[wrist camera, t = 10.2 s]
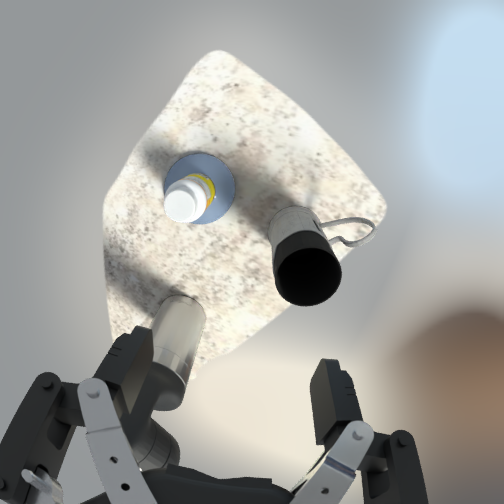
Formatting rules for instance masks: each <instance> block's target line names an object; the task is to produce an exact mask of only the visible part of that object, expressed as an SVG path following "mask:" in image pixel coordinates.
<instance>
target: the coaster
mask: <svg viewBox="0 0 504 504" xmlns="http://www.w3.org/2000/svg"><path fill="white" fill-rule="evenodd" d="M193 173H202V174H205V175H207V176H208V177H210V178H211V180H212V181H213V182H214V185H215V189H216V193H215V197H214V200H213V201H212V203H211V204H210V205H209V206H208V208H207V209H206V210H205V212H204V213H203V214H202V215H201V216H200V217H199V218H198V219H197V220H195V221H193V222H189V223H193V224H207V223H211V222H213V221H216V220H217V219H219V218H221V217H222V216H223V215H224V214H225V213H226V212H227V210H228V209H229V207H230V206H231V204H232V201H233V199H234V195H235V183H234V179H233V176H232V173H231V171H230V170H229V168H228V167H227V166H226V165H225V164H224V163H223V162H222V161H221V160H219V159H218V158H216V157H214V156H211V155H208V154H193V155H189V156H186V157H184V158H182V159H180V160H179V161H177V162H176V163H175V164H174V165H173V166H172V168H171V169H170V171H169V172H168V175H167V177H166V180H165V193H166V191H167V189H168V188H169V186H170V185H172V184H173V183H174V182H176V181H178V180H180V179H182V178H184V177H186V176H188V175H190V174H193Z"/></svg>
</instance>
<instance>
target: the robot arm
mask: <svg viewBox="0 0 504 504" xmlns="http://www.w3.org/2000/svg"><path fill="white" fill-rule="evenodd" d="M205 322H206V314H205V312H204V310H203V308H202V307H201V305H200V304H199V303H198V302H196V301H195V300H193V299H191V298H189V297H186V296H181V295H174V296H171V297H168V298H167V299H165V300H164V301H163V303H162V305H161V307H160V308H159V310H158V312H157V314H156V315H155V317H154V319H153V321H152V322H151V324H150V326H149V328H145V327H141V326H138V325H137V326H135V328H134V329H133V331H132V333H131V334H127V333H124V334H122V335H121V336H119V337H118V338H117V339H116V340H115V342H114V343H113V345H112V348H110V350H109V352H108V354H107V355H106V356H105V358H104V360H103V361H102V363H101V364H100V366H99V368H98V369H97V371H96V373H95V374H94V376H93V377H92V378H89V379H86V380H84V381H82V382H81V383H80V384H75V383H66V382H61V380H60V378H59V377H58V376H57V375H55V374H54V373H51V372H45V373H42V374H40V375H39V376H38V377H37V378H36V379H35V381H34V382H33V384H32V386H31V387H30V389H29V391H28V392H27V394H26V396H25V398H24V399H23V401H22V403H21V405H20V406H19V408H18V410H17V412H16V414H15V415H14V417H13V419H12V421H11V423H10V425H9V427H8V429H7V431H6V433H5V435H4V437H3V439H2V441H1V444H0V499H1V500H3V501H5V502H7V503H8V504H63V490H62V487H61V485H60V484H59V483H58V481H57V480H56V479H57V477H58V474H59V471H60V468H61V465H62V463H63V460H64V457H65V454H66V452H67V449H68V446H69V444H70V441H71V439H72V436H73V434H74V432H75V429H76V427H77V426H83V427H86V430H87V433H86V438H87V442H88V445H89V448H90V452H91V454H92V457H93V460H94V463H95V466H96V469H97V471H98V474H99V476H100V479H101V481H102V484H103V486H104V489H105V491H106V492H104V493H102V494H100V495H98V496H96V497H94V498H91V499H89V500H87V501H85V502H83V503H80V504H338V503H339V502H340V501H341V499H342V498H343V496H344V495H345V493H346V492H347V490H348V489H349V487H350V486H351V484H352V482H353V481H354V479H355V477H356V474H355V471H356V470H360V471H361V476H362V486H363V497H364V504H428V499H427V493H426V488H425V483H424V478H423V473H422V469H421V465H420V460H419V456H418V453H417V448H416V445H415V441H414V438H413V436H412V435H411V434H410V433H409V432H407V431H405V430H397V431H395V432H393V433H392V434H391V435H387V434H382V433H377V432H374V431H373V429H372V428H371V426H370V425H368V424H367V423H365V422H364V421H363V418H362V414H361V410H360V407H359V403H358V399H357V396H356V392H355V389H354V384H353V381H352V378H351V377H350V376H349V374H348V373H347V371H343V370H341V369H340V365H339V362H338V360H334V359H321V361H320V363H319V365H318V367H317V369H316V371H315V373H314V375H313V377H312V379H311V383H310V395H311V403H312V410H313V419H314V428H315V437H316V445H324V447H325V450H324V451H323V453H322V454H321V455H320V457H319V458H318V459H317V461H316V462H315V463H314V464H313V466H312V467H311V468H310V469H309V471H308V472H307V473H306V474H305V476H304V477H303V478H302V479H301V480H300V481H299V482H298V483H297V484H296V485H295V486H294V487H293V488H292V489H291V490H290V491H288V490H286V489H284V488H282V487H280V486H277V485H275V484H272V479H269V478H254V477H242V478H231V479H217V478H214V477H211V476H209V475H206V474H204V473H201V472H199V471H197V470H194V469H191V468H186V467H182V466H178V465H179V460H180V449H179V445H178V443H177V441H176V440H175V439H174V437H173V436H172V435H171V434H169V433H168V432H167V431H166V430H165V429H164V428H162V427H161V426H160V425H159V424H158V423H157V422H155V421H154V420H153V419H152V418H151V414H152V411H153V410H157V411H170V410H174V409H176V408H178V407H179V406H180V405H181V403H182V400H183V398H184V394H185V390H186V387H187V383H188V380H189V376H190V373H191V369H192V366H193V362H194V359H195V355H196V352H197V349H198V345H199V342H200V339H201V336H202V332H203V329H204V326H205Z"/></svg>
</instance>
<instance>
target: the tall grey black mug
mask: <svg viewBox="0 0 504 504" xmlns="http://www.w3.org/2000/svg"><path fill="white" fill-rule="evenodd" d="M352 222H358V223H364V224H367V225H369V226H371V227H372V228H373V230H372V231H371V233H370V234H368V235H367V236H366V237H364V238H363V239H360V240H358V241H346V240H345V239H344V238H343V237H342V236H337V237H334V238H332V239H330V240H329V241H328V239H327V237H326V236H325V234H324V232H323V230H322V228H324V227H330V226H335V225H339V224H344V223H352ZM376 232H377V229H376V227H375V225H374V223H373V222H371V221H370V220H368V219H365V218H359V217H350V218H344V219H339V220H335V221H330V222H325V223H321V222H320V220H319V218H318V217H317V215H316V214H315V213H314V212H312V211H311V210H309V209H307V208H305V207H301V206H291V207H287V208H285V209H283V210H281V211H279V212H278V213H277V214H276V215H275V216H274V217H273V219H272V220H271V222H270V224H269V228H268V237H269V241H270V243H271V245H272V264H273V274H274V277H275V285H276V288H277V290H278V292H279V294H280V295H281V296H282V297H283V298H284V299H285V300H286V301H288V302H290V303H291V304H294V305H298V306H313V305H317V304H320V303H322V302H324V301H326V300H327V299H328V298H330V297H331V296H332V295H333V294H334V293H335V292H336V290H337V289H338V287H339V285H340V282H341V277H342V271H341V266H340V264H339V261H338V260H337V258H336V256H335V254H334V252H333V250H332V247H331V245H333V244H334V243H336V242H339V241H341V242H343V243H344V244H345V245H346V246H348V247H359V246H362V245H364V244H366V243H368V242H369V241H370V240H371V239H373V238H374V236H375V235H376Z"/></svg>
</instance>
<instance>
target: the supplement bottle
mask: <svg viewBox="0 0 504 504" xmlns="http://www.w3.org/2000/svg"><path fill="white" fill-rule="evenodd" d="M215 193H216V189H215V185H214V182H213V181H212V180H211V178H210V177H208V176H207V175H205V174H202V173H193V174H190V175H188V176H186V177H184V178H182V179H180V180H178V181H176V182H174V183H173V184H172V185H170V186H169V188H168V189H167V191H166V193H165V196H164V211H165V213H166V215H167V216H168V217H169V218H170V219H171V220H173V221H175V222H183V223H188V222H193V221H195V220H197V219H198V218H199V217H200V216H201V215H202V214H203V213H204V212H205V210H206V209H207V208H208V206H209V205H210V204H211V203H212V201H213V200H214V197H215Z"/></svg>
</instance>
